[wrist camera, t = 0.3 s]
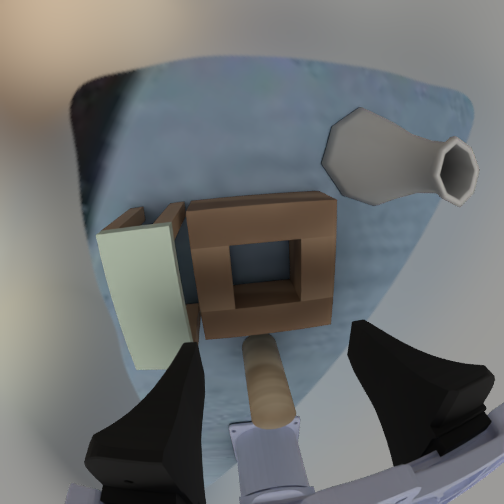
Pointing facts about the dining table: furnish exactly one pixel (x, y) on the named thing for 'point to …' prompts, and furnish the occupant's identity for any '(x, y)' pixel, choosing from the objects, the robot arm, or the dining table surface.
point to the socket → (257, 231)
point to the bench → (148, 285)
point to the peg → (267, 383)
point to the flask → (396, 162)
